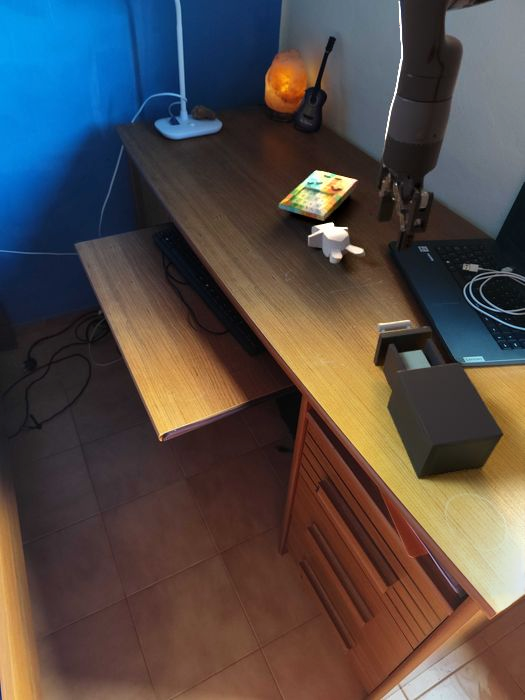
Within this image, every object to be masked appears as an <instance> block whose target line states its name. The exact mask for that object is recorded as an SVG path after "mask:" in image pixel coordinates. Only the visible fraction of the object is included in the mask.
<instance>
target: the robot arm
mask: <svg viewBox="0 0 525 700" xmlns="http://www.w3.org/2000/svg"><path fill="white" fill-rule="evenodd" d="M494 1H495V0H398V8H399V10H398V11H399V25H400V26H399V28H400V42H401V59H400V63H399V69H398V75H397V81H396V87H395V91H394V96H393V99H392V103H391V105H390V109H389V114H388V120H387V126H386V132H385V137H384V144H383V150H382V153H381V157H380V162H379V167H378V172H377V178H376V182H375V189H376V190H377V191H378V190H379V192H378V198H379V206H378V210H377V215H376V219H377V221H378V222H379V223H384V222H385V223H386V222H390V221H392V218H393V213H394V209H395V212H396V215H397V216H399V223H400V224H399V225H400V228H399V231H398V235H397V239H396V244H395V250H396V251H397V252H398V253H402V252H409V251H411V250H412V247H413V244H414V239H415V235H417V234H424V233H426V231H427V228H428V223H429V219H430V215H431V210H432V206H433V203H434V199H435V193H434V192H433V191H425V189H424V188H425V187H424V186H425V185H424V182H425V177H426V175H428V174H429V173H430V172H432V171H433V170H434V169H435V168H436V167H437V166H438V161H439V158H440V154H441V149H442V146H443V142H444V139H445V136H446V135H445V134H446V131H447V127H448V124H449V119H450V116H451V109H452V102H453V97H454V92H455V89H456V85H457V81H458V77H459V73H460V70H461V66H462V62H463V57H464V47H463V43H462V41H461V40H460V39H459V38H458V37H456V36H453V35H451V34H447V33H446V16H447V12H452V11H458V10H465V9H468V8H472V7H477V6H480V5H483V4H487V3H490V2H494ZM384 178H385V180H384ZM407 205H410V207H407V208H405V207H404V206H407ZM407 216H408V217H407Z"/></svg>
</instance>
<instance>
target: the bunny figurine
mask: <svg viewBox="0 0 525 700" xmlns="http://www.w3.org/2000/svg"><path fill="white" fill-rule="evenodd" d="M307 246H309V247H311V248H312V247H313V248H318V249H322V252H323V253H322V254H323V255H324V256H325V257H326V258H329V262H330V263H331V264H338V263H340V262H341V260H342V258H343V256H344V255H346V254H348V253H351V254H352V255H354V256H356V257H359V258H364V257H365V256H366V252H365V250H364V248H362V247H358V246H354V245H352V244H351V240H350V234H349V228H348V227H343V226H342V227H341V226H335V224H334V223H333V222H327V223H324V224H323V223H322V224H318V225H313V226H311V234H309V235H307Z"/></svg>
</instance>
